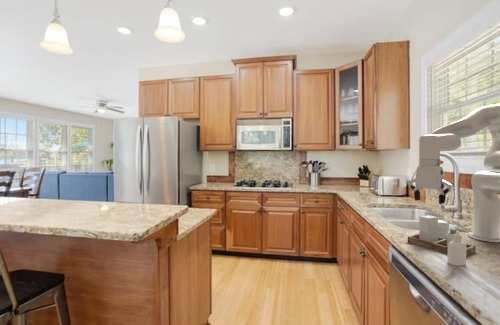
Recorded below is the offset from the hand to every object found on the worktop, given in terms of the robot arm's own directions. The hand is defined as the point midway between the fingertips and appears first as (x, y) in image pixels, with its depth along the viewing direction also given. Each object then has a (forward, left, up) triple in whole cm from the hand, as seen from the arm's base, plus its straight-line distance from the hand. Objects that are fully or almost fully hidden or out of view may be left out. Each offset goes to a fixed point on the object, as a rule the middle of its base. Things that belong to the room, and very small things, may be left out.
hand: (429, 201), depth 115 cm
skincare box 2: (-16, -3, -19) cm, 25 cm away
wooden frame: (0, +5, -19) cm, 19 cm away
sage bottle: (0, +10, -19) cm, 21 cm away
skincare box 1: (0, 0, -19) cm, 19 cm away
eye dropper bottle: (+14, +16, -19) cm, 29 cm away
